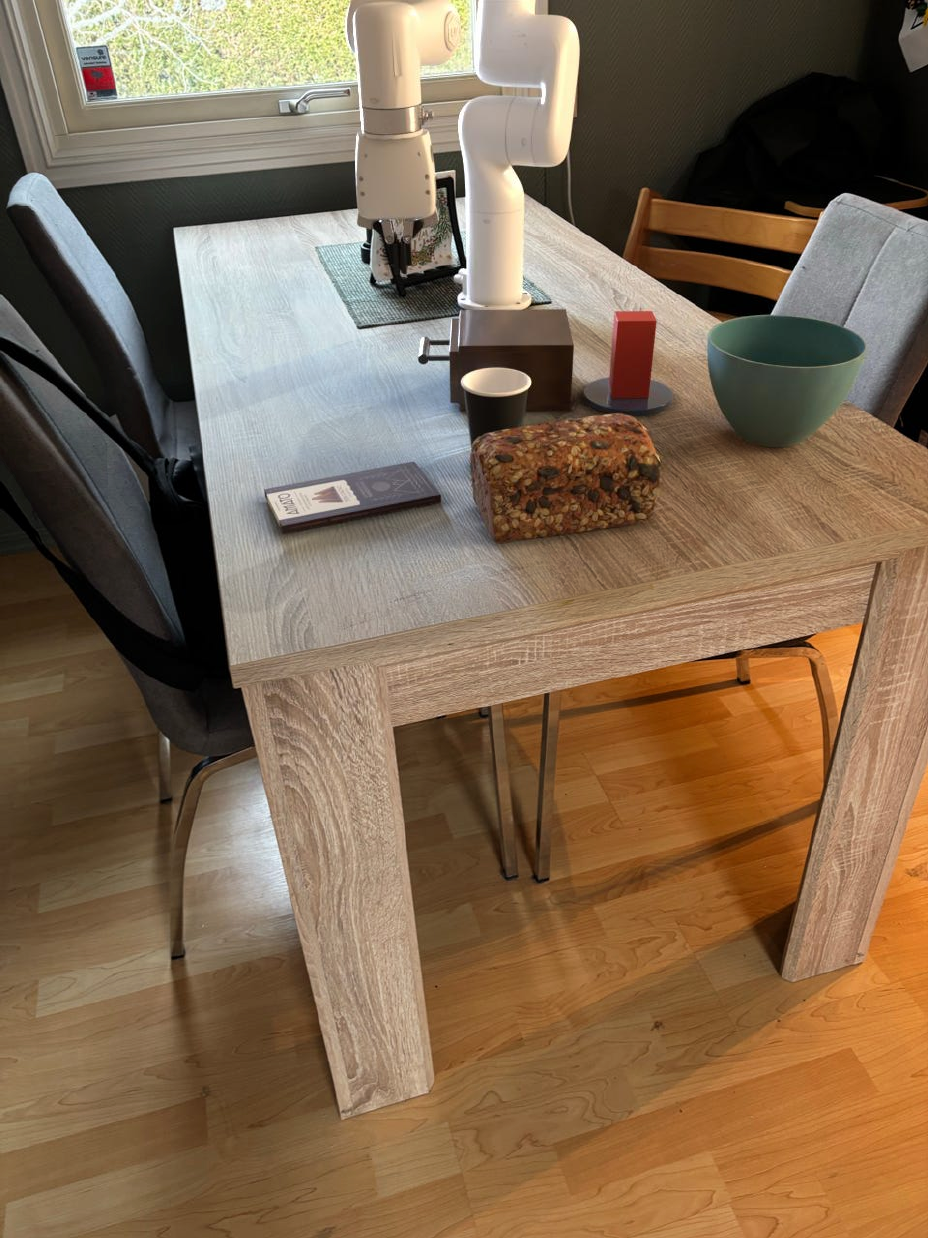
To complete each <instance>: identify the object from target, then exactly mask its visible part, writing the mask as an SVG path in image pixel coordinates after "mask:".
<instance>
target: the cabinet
mask: <svg viewBox="0 0 928 1238" xmlns="http://www.w3.org/2000/svg"><path fill="white" fill-rule="evenodd" d="M459 318H460V323H459V344H458V352H459V403H458V404H459V405H458V407H459V408H458V409H459V413H460V412H461V413H462V412H463V413H465V412H466V413H467V410H466V402H465V394H464V388H463V387H462V385H461V380H462V378H463V377H464V376H465V375H466V374H468V373H470V372H472V371H475V370H479V369H485V368H507V369H513V370H517V371H520V372H523V373H525V374H526V375H527V376H529V378H530V379H531V385H530V387H529V388H528V394H527V401H526V408H525V412H570V411H571V409H572V393H573V392H572V391H573V375H574V374H573V371H574V356H575V355H574V354H575V352H574V351H575V343H574V339H573V335H572V329H571V325H570V321H569V316H568V313H567V309H566V308H556V309H555V308H553V309H551V308H550V309H548V308H547V309H544V308H543V309H541V308H540V309H522V310H466V309H460V310H459Z"/></svg>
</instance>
